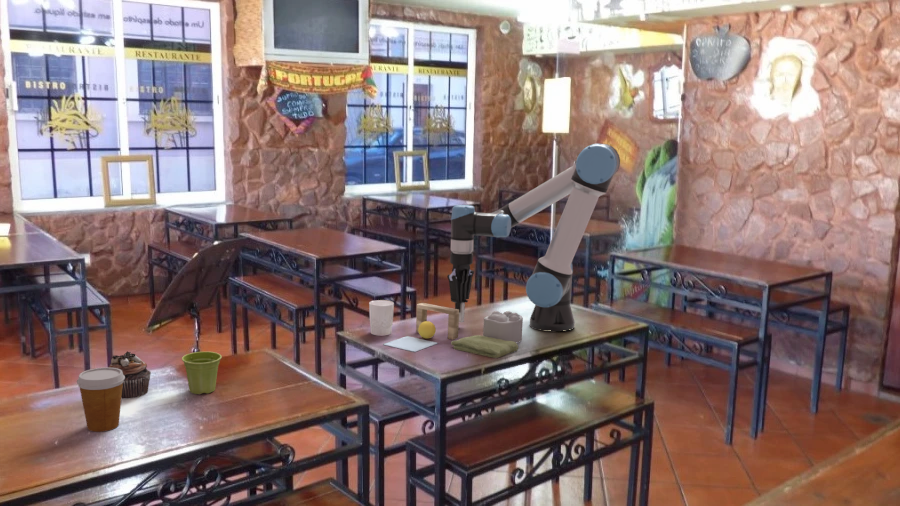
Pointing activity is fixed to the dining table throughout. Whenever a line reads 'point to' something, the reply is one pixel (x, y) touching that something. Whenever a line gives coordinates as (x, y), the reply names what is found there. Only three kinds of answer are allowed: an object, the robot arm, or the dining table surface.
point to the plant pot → (201, 371)
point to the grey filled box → (503, 326)
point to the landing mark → (410, 344)
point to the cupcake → (132, 375)
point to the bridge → (452, 317)
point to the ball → (426, 329)
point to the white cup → (381, 317)
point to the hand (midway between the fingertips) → (459, 321)
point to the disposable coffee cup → (101, 397)
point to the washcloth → (485, 346)
